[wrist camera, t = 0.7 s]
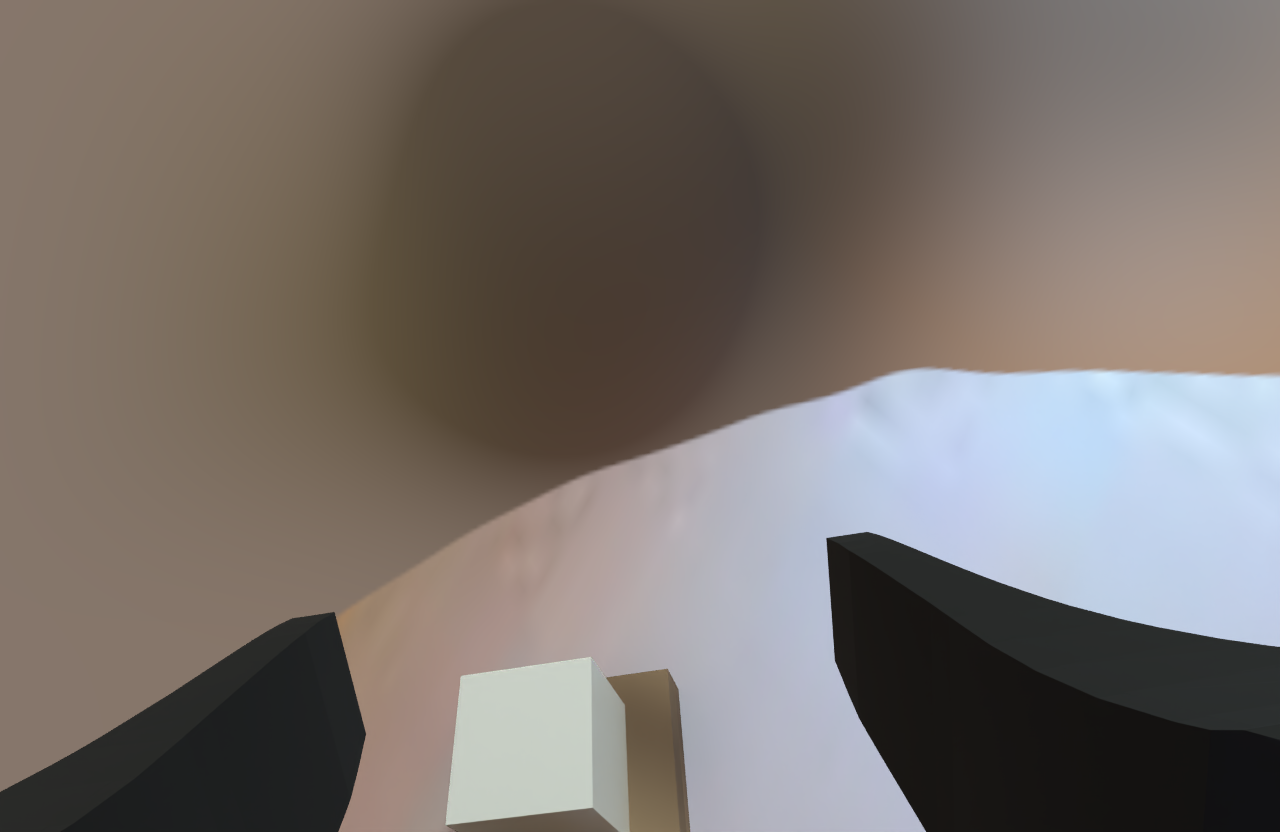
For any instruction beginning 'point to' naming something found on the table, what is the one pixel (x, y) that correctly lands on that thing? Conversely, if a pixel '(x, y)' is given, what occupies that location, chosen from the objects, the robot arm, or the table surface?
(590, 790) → the block
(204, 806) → the robot arm
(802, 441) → the table surface
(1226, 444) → the table surface
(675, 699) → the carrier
